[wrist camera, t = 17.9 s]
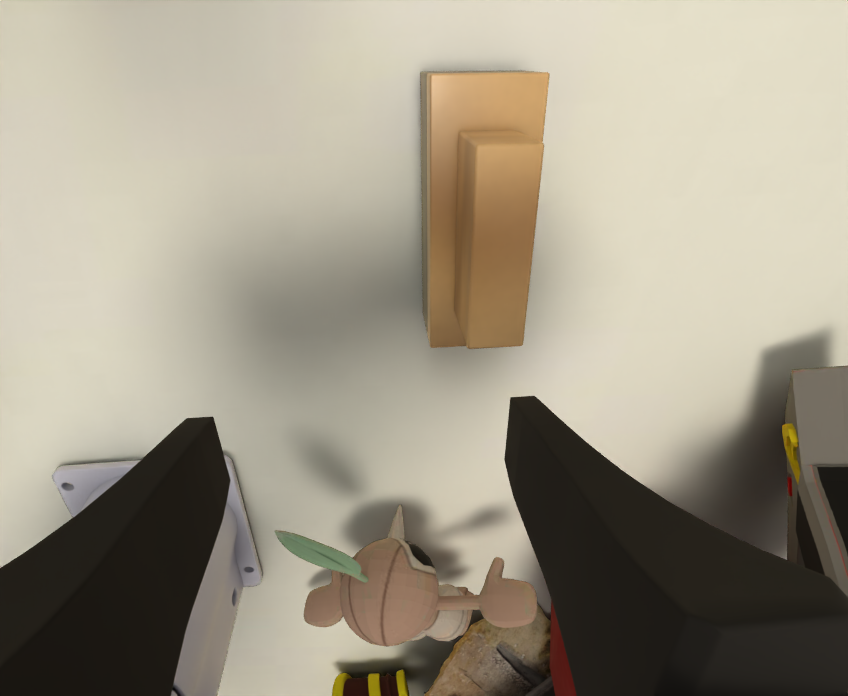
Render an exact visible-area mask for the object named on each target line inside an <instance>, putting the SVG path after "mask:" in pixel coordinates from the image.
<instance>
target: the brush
mask: <svg viewBox="0 0 848 696" xmlns="http://www.w3.org/2000/svg"><path fill="white" fill-rule="evenodd" d="M548 84H549V73H548V72H534V71H432V72H421V73H420V85H421V190H422V295H423V317H424V321H425V326H426V330H427V334H428V339H429V344H430V347H431V348H437V347H455V346H467V348H469V349H477V348H495V347H512V346H522V345H523V340H524V330H525V321H526V311H527V302H528V293H529V283H530V274H531V264H532V255H533V246H534V236H535V227H536V217H537V208H538V199H539V189H540V180H541V170H542V161H543V152H544V144H543V143H542V141H543V132H544V122H545V113H546V103H547V94H548Z"/></svg>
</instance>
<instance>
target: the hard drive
mask: <svg viewBox="0 0 848 696" xmlns="http://www.w3.org/2000/svg"><path fill="white" fill-rule="evenodd" d="M525 696H555V691H554V686H553V681H552V676H550V677H549V678H548V679H546V680H545V681H544V682H542V683H541V684H540V685H538V686H537V687H535V688H534V689H533V690H532V691H530V692H529V693H527V694H526V695H525Z"/></svg>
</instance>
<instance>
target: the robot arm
mask: <svg viewBox="0 0 848 696" xmlns="http://www.w3.org/2000/svg"><path fill="white" fill-rule="evenodd" d="M505 464H506V468H507V472H508V477H509V481H510V485H511V489H512V493H513V496H514V499H515V502H516V505H517V507H518V510H519V513H520V515H521V518H522V521H523V523H524V526H525V528H526V531H527V534H528V536H529V539H530V541H531V544H532V547H533V549H534V552H535V554H536V557H537V560H538V562H539V565H540V567H541V570H542V572H543V575H544V578H545V581H546V584H547V587H548V590H549V593H550V596H551V599H552V603H553V607H554V610H555V614H556V618H557V621H558V625H559V628H560V632H561V636H562V640H563V643H564V647H565V651H566V655H567V659H568V663H569V667H570V671H571V674H572V678H573V682H574V687H575V691H576V695H577V696H848V693H847V692H846V691H847V690H848V597H847V596H846V594H845V593H844V592H843V591H842V590H841V589H840V588H839V587H838V586H837V585H836V583H835V582H834V581H833V580H832V579H831V578H830V577H827V576H825V575H822V574H820V573H818V572H815V571H813V570H810V569H808V568H805V567H803V566H800V565H798V564H795V563H793V562H790V561H788V560H785V559H783V558H780V557H778V556H776V555H773V554H771V553H768V552H766V551H764V550H762V549H759V548H757V547H755V546H753V545H751V544H749V543H747V542H745V541H742V540H740V539H738V538H736V537H734V536H732V535H730V534H728V533H726V532H724V531H722V530H720V529H718V528H716V527H714V526H712V525H710V524H708V523H706V522H704V521H703V520H701V519H699V518H697V517H695V516H694V515H692V514H690V513H688V512H686V511H684V510H683V509H681V508H679V507H677V506H676V505H674V504H672V503H671V502H669V501H667V500H666V499H664V498H662V497H661V496H659V495H658V494H656V493H655V492H653V491H652V490H650V489H649V488H647V487H645V486H644V485H642V484H641V483H639V482H638V481H636V480H635V479H633V478H632V477H631V476H629V475H628V474H626V473H625V472H624V471H622V470H621V469H620V468H618V467H617V466H616V465H614V464H613V463H612V462H610V461H609V460H608V459H606V458H605V457H604V456H603V455H601V454H600V453H599V452H598V451H596V450H595V449H594V448H593V447H591V446H590V445H589V444H588V443H587V442H585V441H584V440H583V439H582V438H581V437H580V436H578V435H577V434H576V433H575V432H574V431H573V430H572V429H570V428H569V427H568V426H567V425H566V424H565V423H564V422H563V421H562V420H560V419H559V418H558V417H557V416H556V415H555V414H554V413H553V412H552V411H551V410H550V409H548V408H547V407H546V406H545V405H544V404H543V403H542V402H541V401H540V400H539V399H537V398H536V397H535V396H527V397H511V399H510V409H509V419H508V429H507V440H506V450H505ZM52 478H53V480H54V482H55V484H56V486H57V488H58V490H59V492H60V494H61V496H62V498H63V500H64V502H65V504H66V506H67V508H68V509H69V511H70V513H71V515H72V517H73V518H72V519H71V520H69V521H68V522H67V523H65V524H64V525H63V526H61V527H60V528H59V529H57V530H56V531H54V532H53V533H52V534H50V535H49V536H47V537H46V538H45V539H43V540H42V541H40V542H39V543H38V544H36V545H35V546H33V547H32V548H31V549H29V550H28V551H26V552H25V553H23V554H22V555H20V556H19V557H17V558H15V559H14V560H12V561H11V562H9V563H8V564H6V565H4V566H3V567H1V568H0V696H217V694H218V690H219V687H220V682H221V678H222V674H223V670H224V665H225V661H226V657H227V653H228V648H229V644H230V640H231V636H232V632H233V627H234V623H235V619H236V615H237V610H238V606H239V602H240V598H241V593H242V589H243V587H252V586H257V585H259V584H260V583H261V581H262V571H261V568H260V564H259V560H258V556H257V552H256V549H255V545H254V541H253V537H252V534H251V530H250V526H249V522H248V519H247V515H246V511H245V507H244V504H243V500H242V496H241V492H240V488H239V485H238V481H237V477H236V473H235V470H234V466H233V462H232V460H231V459H230V458H229V457H228V456H226V455H224V454H223V451H222V447H221V443H220V440H219V436H218V432H217V429H216V425H215V421H214V418H213V417H201V418H187V419H186V420H184V421H183V422H182V423H181V424H180V425H179V426H177V427H176V428H175V429H174V430H173V431H172V432H171V433H170V434H169V435H168V436H167V437H165V438H164V439H163V440H162V441H161V442H160V443H159V444H158V445H157V446H156V447H155V448H154V449H153V450H152V451H150V452H149V453H148V454H147V455H146V456H145V457H144V458H143V459H142V460H134V461H120V462H106V463H92V464H77V465H63V466H59V467H58V468H57V469H56V470H55V471H54V473H53V475H52ZM69 483H70V484H69Z"/></svg>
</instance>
